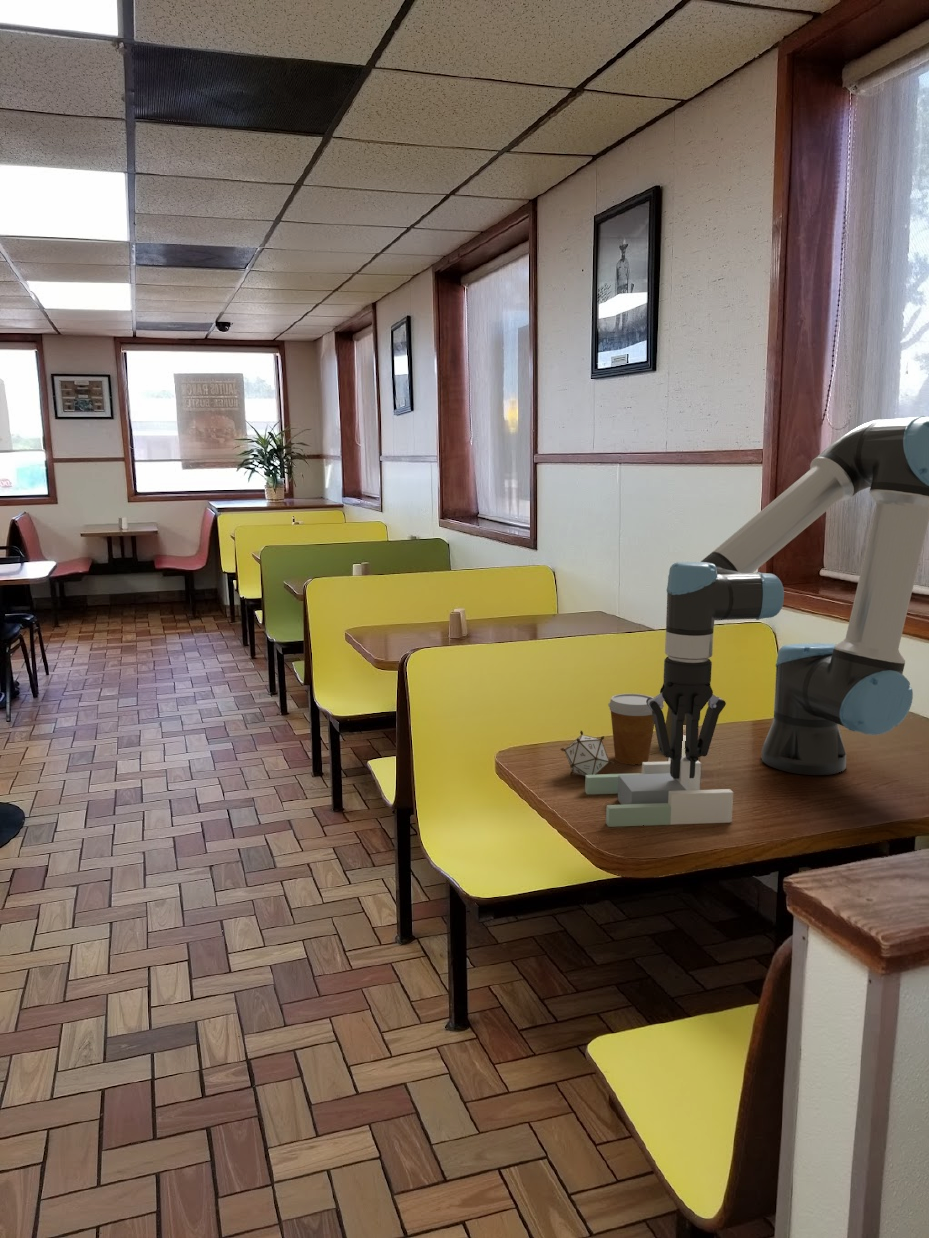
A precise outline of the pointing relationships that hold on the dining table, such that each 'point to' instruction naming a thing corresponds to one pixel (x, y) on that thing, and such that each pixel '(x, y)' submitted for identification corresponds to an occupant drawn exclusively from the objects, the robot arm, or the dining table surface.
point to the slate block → (646, 788)
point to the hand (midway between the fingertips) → (681, 796)
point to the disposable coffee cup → (631, 727)
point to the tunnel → (678, 810)
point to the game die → (586, 755)
